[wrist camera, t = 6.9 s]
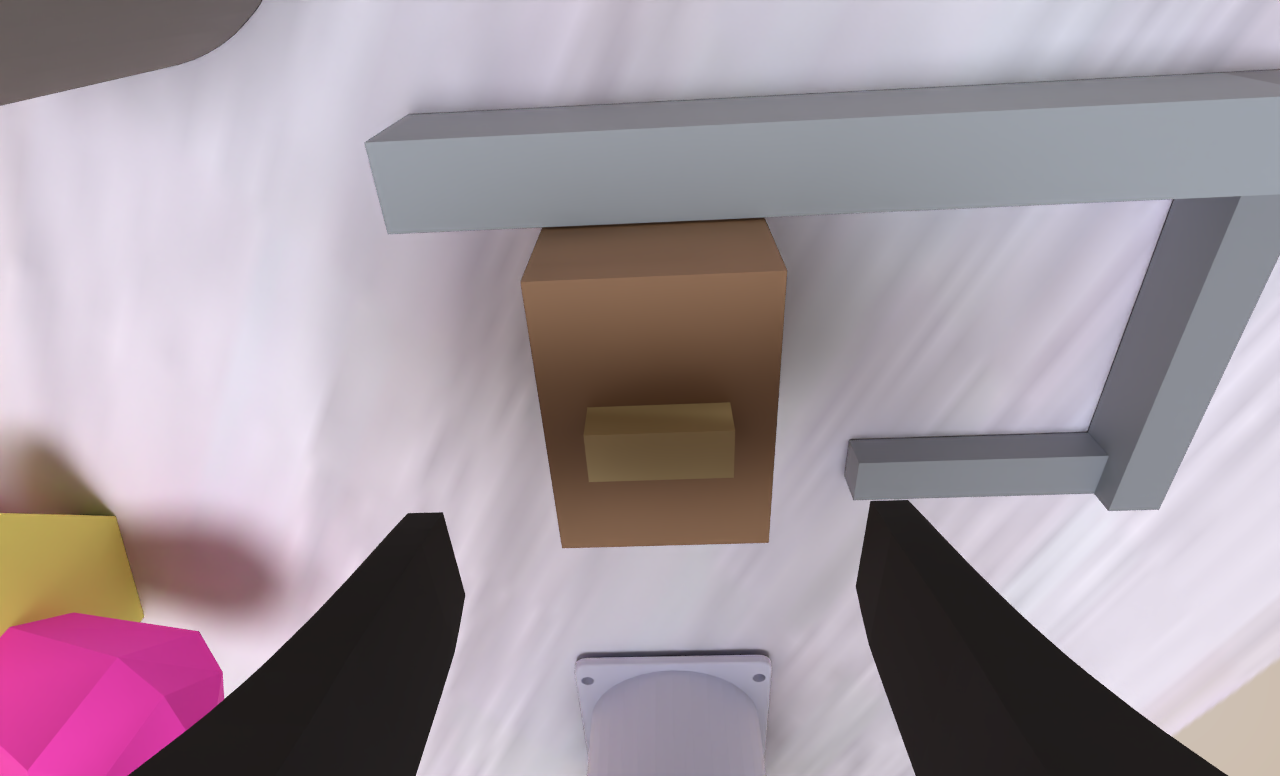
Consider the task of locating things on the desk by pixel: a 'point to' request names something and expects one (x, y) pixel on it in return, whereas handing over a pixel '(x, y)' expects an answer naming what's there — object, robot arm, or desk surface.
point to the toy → (88, 655)
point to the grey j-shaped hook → (912, 181)
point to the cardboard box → (658, 378)
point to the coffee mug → (105, 39)
